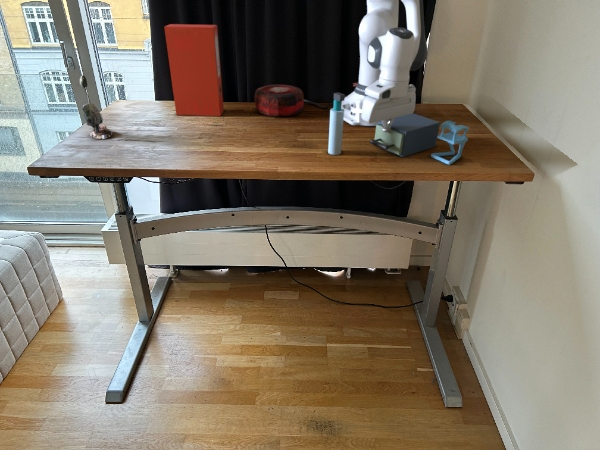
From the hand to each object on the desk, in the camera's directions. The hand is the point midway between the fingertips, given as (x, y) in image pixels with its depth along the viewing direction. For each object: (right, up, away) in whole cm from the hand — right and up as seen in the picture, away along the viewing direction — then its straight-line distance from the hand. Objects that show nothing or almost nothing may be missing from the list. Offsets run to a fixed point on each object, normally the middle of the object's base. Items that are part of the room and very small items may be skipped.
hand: (385, 131), depth 138 cm
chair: (+20, -9, 0) cm, 22 cm away
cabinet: (+8, -3, +9) cm, 12 cm away
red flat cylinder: (-36, +17, +40) cm, 56 cm away
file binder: (-67, +15, +36) cm, 78 cm away
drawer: (+5, -3, +6) cm, 9 cm away
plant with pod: (-97, +1, +12) cm, 97 cm away
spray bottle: (-16, -6, +3) cm, 17 cm away
